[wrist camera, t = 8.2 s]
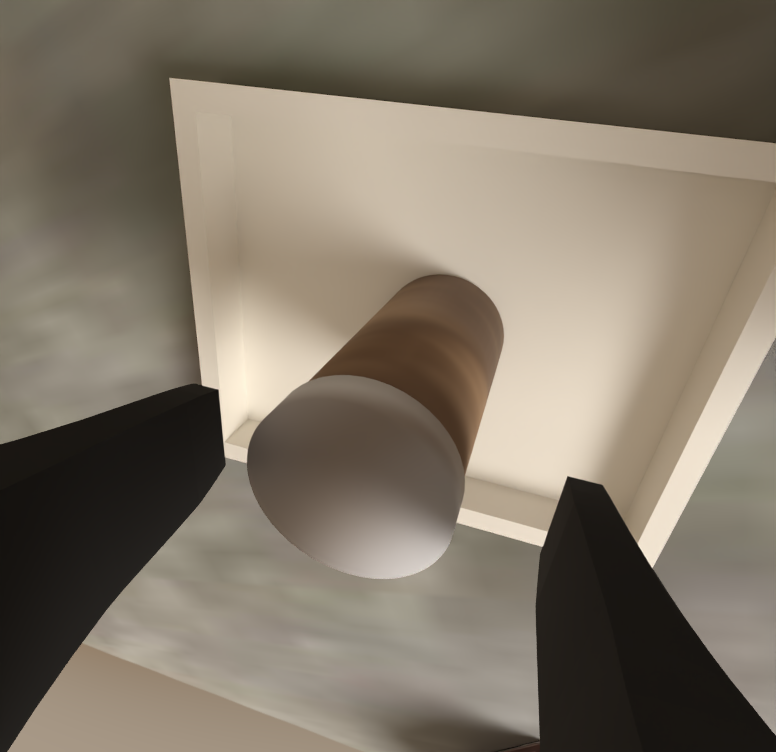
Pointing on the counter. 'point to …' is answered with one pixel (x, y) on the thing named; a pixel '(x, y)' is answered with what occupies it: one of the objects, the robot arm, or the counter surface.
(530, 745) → the box
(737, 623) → the counter surface
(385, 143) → the tray
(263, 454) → the shaker
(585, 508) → the robot arm
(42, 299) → the counter surface
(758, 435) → the counter surface
